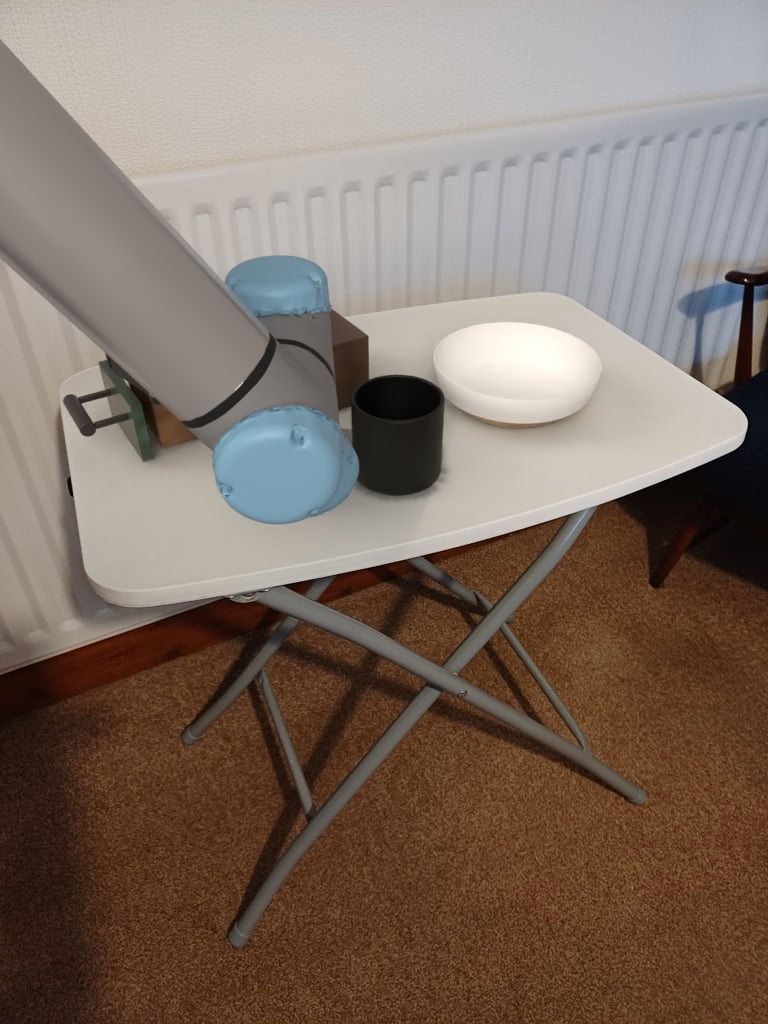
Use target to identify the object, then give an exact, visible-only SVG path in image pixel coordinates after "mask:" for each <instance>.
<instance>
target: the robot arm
mask: <svg viewBox="0 0 768 1024" xmlns="http://www.w3.org/2000/svg"><path fill="white" fill-rule="evenodd" d="M0 260H1V261H2V262H4V264H6V265H7V266H8V267H9V268H10V269H11V270H12V271H14V273H16V274H17V275H18V276H19V277H20V278H21V279H23V281H25V282H26V283H27V284H28V285H29V286H30V287H31V288H33V289H34V291H36V292H37V293H38V294H39V295H40V296H42V298H43V299H45V300H46V301H47V302H48V303H49V304H50V305H51V306H53V308H54V309H56V310H57V311H58V312H59V313H60V314H61V315H62V316H63V317H64V318H66V319H67V320H68V321H69V322H70V323H71V324H72V325H73V326H74V327H76V328H77V329H78V330H79V331H80V332H81V333H83V335H85V337H86V338H88V339H89V340H90V341H91V342H92V343H94V344H95V346H97V347H98V348H99V349H100V350H101V351H102V352H103V353H104V355H105V358H106V359H105V360H107V363H108V367H109V370H110V371H112V372H113V373H115V374H117V375H118V376H120V377H121V378H123V379H124V381H125V382H126V383H128V382H129V383H131V384H132V385H134V386H135V387H137V388H138V389H140V390H142V391H143V392H145V393H146V394H148V396H149V398H150V400H151V402H152V403H153V404H163V405H164V406H165V407H166V408H167V409H168V410H169V411H170V412H171V413H173V414H174V415H175V416H176V417H177V418H178V419H179V420H180V421H181V422H182V423H183V424H184V425H185V426H186V427H187V428H188V429H189V430H190V431H191V432H192V433H193V434H194V435H195V436H196V437H197V438H198V439H197V440H199V441H200V442H202V444H204V445H205V446H206V447H207V448H208V449H209V450H210V451H211V452H212V454H211V458H212V463H211V467H212V470H213V475H214V479H215V484H216V487H217V489H218V492H219V493H220V495H221V498H222V499H223V500H224V502H225V503H226V504H227V505H228V506H229V508H230V509H232V510H234V511H235V512H236V513H238V514H239V515H240V516H242V517H244V518H246V519H248V520H252V521H254V522H259V523H261V524H265V525H289V524H293V523H297V522H300V521H304V520H306V519H308V518H314V517H318V516H320V515H323V514H325V513H328V512H331V511H332V510H334V509H336V508H337V507H339V506H340V505H341V504H342V503H343V502H344V501H345V500H346V499H347V498H348V496H349V495H350V494H351V492H352V491H353V490H354V487H355V486H356V483H357V481H358V480H357V478H358V474H359V460H358V457H357V454H356V452H355V450H354V449H353V447H352V444H350V442H349V441H348V438H347V437H346V436H345V435H344V433H343V431H342V429H341V422H340V421H341V420H340V413H339V411H340V410H338V402H337V394H336V381H335V369H334V359H333V349H332V336H331V310H332V309H333V308H332V304H331V301H330V293H329V292H330V291H329V282H328V280H329V279H328V276H327V274H326V272H325V270H324V269H323V268H322V266H320V265H319V264H318V263H316V262H314V261H312V260H310V259H307V258H304V257H300V256H296V255H295V256H294V255H286V254H285V255H282V254H278V255H274V254H273V255H264V256H258V257H254V258H250V259H247V260H244V261H241V262H240V263H238V264H236V265H235V266H233V267H232V268H231V269H230V270H229V271H228V272H227V273H226V276H225V278H224V280H223V279H222V278H221V277H220V276H219V275H218V274H217V273H216V271H214V269H213V268H212V267H211V266H210V265H209V264H208V263H207V261H206V260H205V259H204V258H203V257H202V256H201V255H200V254H199V253H198V252H197V251H196V250H195V249H194V248H193V247H192V245H191V244H189V242H188V241H187V240H186V239H185V238H184V237H183V236H182V235H181V234H180V232H179V231H178V230H177V229H176V228H175V227H174V226H173V225H172V224H171V223H170V221H169V220H168V219H167V218H166V217H165V216H164V215H163V214H162V213H161V211H159V210H158V208H157V207H155V205H154V204H153V203H152V202H151V201H150V200H149V198H147V197H146V195H144V193H143V192H142V191H141V190H140V188H138V187H137V186H136V184H135V183H133V181H132V180H131V179H130V178H129V177H128V176H127V175H126V174H125V173H124V172H123V170H121V168H120V167H119V166H118V165H117V164H116V163H115V162H114V161H113V159H112V158H110V157H109V155H108V154H107V153H106V152H105V151H104V149H102V148H101V147H100V146H99V145H98V143H97V142H96V141H95V140H94V139H93V138H92V137H91V136H90V134H89V133H88V132H87V131H86V130H85V129H84V128H83V127H82V126H81V125H80V124H79V122H78V121H76V119H75V118H74V117H73V116H72V115H71V114H70V113H69V112H68V111H67V110H66V108H65V107H64V106H63V105H62V104H61V103H60V102H59V101H58V100H57V99H56V98H55V97H54V95H52V93H50V91H49V90H48V89H47V88H46V87H45V86H44V84H42V82H41V81H39V79H38V78H37V77H36V76H35V75H34V74H33V73H32V72H31V71H30V70H29V69H28V67H27V66H26V65H25V64H24V63H23V62H22V61H21V60H20V58H18V56H17V55H16V54H15V53H14V52H13V51H12V50H11V49H10V47H8V46H7V44H6V43H5V42H4V41H3V40H2V39H1V38H0Z"/></svg>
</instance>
